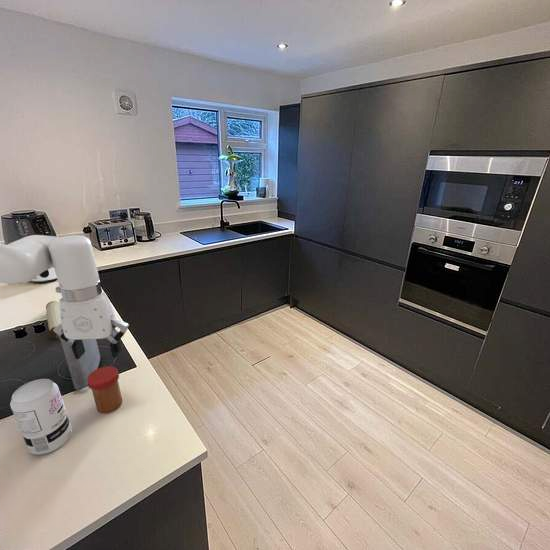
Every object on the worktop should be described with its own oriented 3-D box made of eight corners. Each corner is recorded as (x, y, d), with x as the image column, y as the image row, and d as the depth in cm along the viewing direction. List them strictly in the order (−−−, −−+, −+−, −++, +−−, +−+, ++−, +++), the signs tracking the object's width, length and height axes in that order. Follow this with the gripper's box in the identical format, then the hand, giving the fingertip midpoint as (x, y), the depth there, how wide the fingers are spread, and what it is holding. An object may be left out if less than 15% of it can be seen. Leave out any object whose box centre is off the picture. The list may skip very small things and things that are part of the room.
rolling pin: (47, 309, 124) (44, 299, 122) (63, 306, 127) (60, 296, 125) (50, 346, 100) (46, 334, 98) (69, 340, 103) (66, 329, 101)
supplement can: (28, 437, 68) (7, 387, 62) (70, 419, 73) (54, 371, 67) (29, 464, 62) (7, 411, 56) (74, 442, 67) (58, 392, 61)
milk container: (19, 282, 149) (8, 249, 143) (51, 271, 165) (42, 240, 158) (46, 286, 146) (36, 252, 139) (75, 274, 161) (68, 243, 155)
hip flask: (90, 356, 96) (77, 302, 88) (104, 354, 97) (91, 301, 89) (73, 390, 81) (54, 330, 74) (89, 388, 82) (72, 328, 75)
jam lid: (83, 391, 71) (81, 385, 70) (96, 372, 77) (95, 366, 76) (112, 390, 71) (110, 384, 71) (123, 371, 78) (122, 365, 77)
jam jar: (92, 414, 74) (84, 385, 71) (103, 396, 80) (96, 369, 76) (117, 413, 75) (110, 384, 71) (126, 395, 80) (120, 368, 77)
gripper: (29, 299, 61) (52, 366, 67) (115, 297, 62) (129, 363, 68) (52, 285, 67) (70, 347, 74) (128, 283, 69) (140, 344, 75)
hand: (98, 354), depth 71 cm, fingers open, 8 cm apart
